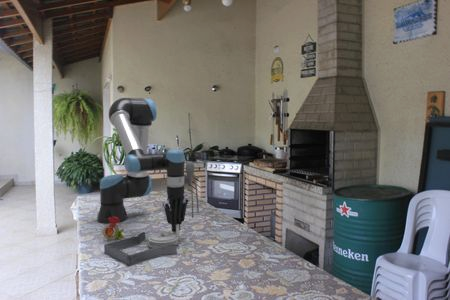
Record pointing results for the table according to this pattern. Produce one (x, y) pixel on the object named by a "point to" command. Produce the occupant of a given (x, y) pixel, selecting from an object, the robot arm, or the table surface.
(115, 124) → the robot arm
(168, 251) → the steel bracket
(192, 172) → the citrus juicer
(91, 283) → the table surface
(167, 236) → the grey pulley wheel
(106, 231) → the bird rattle
